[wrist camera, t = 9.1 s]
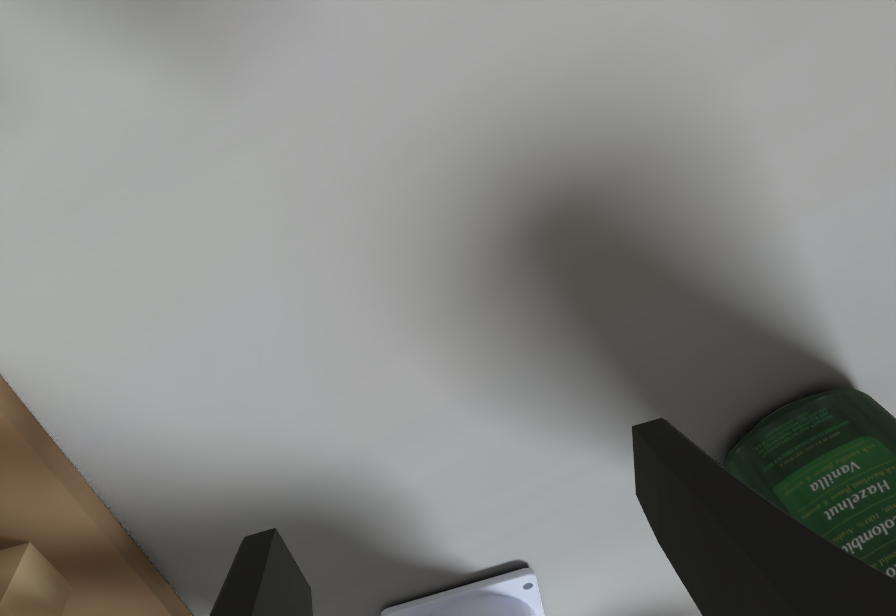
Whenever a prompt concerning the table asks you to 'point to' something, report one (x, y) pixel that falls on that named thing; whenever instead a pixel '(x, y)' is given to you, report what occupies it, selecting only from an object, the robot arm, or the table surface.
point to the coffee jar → (829, 470)
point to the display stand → (64, 535)
